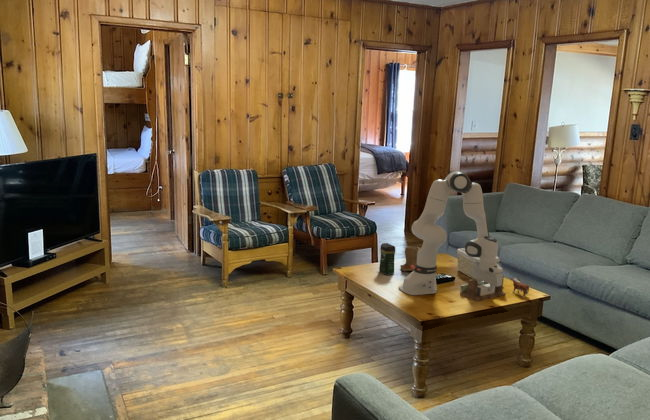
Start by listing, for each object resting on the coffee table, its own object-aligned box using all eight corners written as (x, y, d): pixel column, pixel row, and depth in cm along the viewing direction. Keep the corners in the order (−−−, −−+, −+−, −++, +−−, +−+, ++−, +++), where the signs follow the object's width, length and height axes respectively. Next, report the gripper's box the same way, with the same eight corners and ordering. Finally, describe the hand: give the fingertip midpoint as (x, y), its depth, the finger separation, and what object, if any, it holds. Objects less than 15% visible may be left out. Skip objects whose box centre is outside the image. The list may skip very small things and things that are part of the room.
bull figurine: (513, 289, 318) (515, 276, 316) (529, 297, 305) (531, 283, 304) (507, 290, 316) (509, 276, 314) (523, 298, 304) (525, 284, 302)
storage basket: (498, 280, 333) (501, 257, 330) (476, 282, 327) (478, 259, 324) (475, 268, 355) (477, 246, 352) (454, 270, 349) (456, 248, 346)
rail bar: (479, 295, 302) (480, 288, 301) (475, 293, 305) (475, 286, 304) (495, 292, 308) (495, 285, 307) (490, 290, 311) (491, 283, 310)
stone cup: (416, 265, 356) (418, 243, 353) (425, 271, 345) (427, 248, 342) (395, 267, 351) (397, 245, 348) (403, 273, 340) (405, 250, 337)
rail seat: (475, 301, 297) (477, 282, 295) (460, 294, 307) (461, 275, 305) (505, 294, 308) (507, 276, 306) (489, 288, 318) (491, 270, 316)
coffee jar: (396, 274, 337) (397, 245, 334) (385, 275, 334) (386, 246, 330) (387, 269, 346) (389, 241, 342) (377, 271, 343) (378, 242, 339)
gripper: (470, 261, 310) (467, 283, 313) (497, 271, 293) (494, 295, 296) (478, 259, 313) (476, 282, 316) (505, 270, 296) (502, 294, 299)
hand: (485, 289), depth 306 cm, fingers open, 6 cm apart
